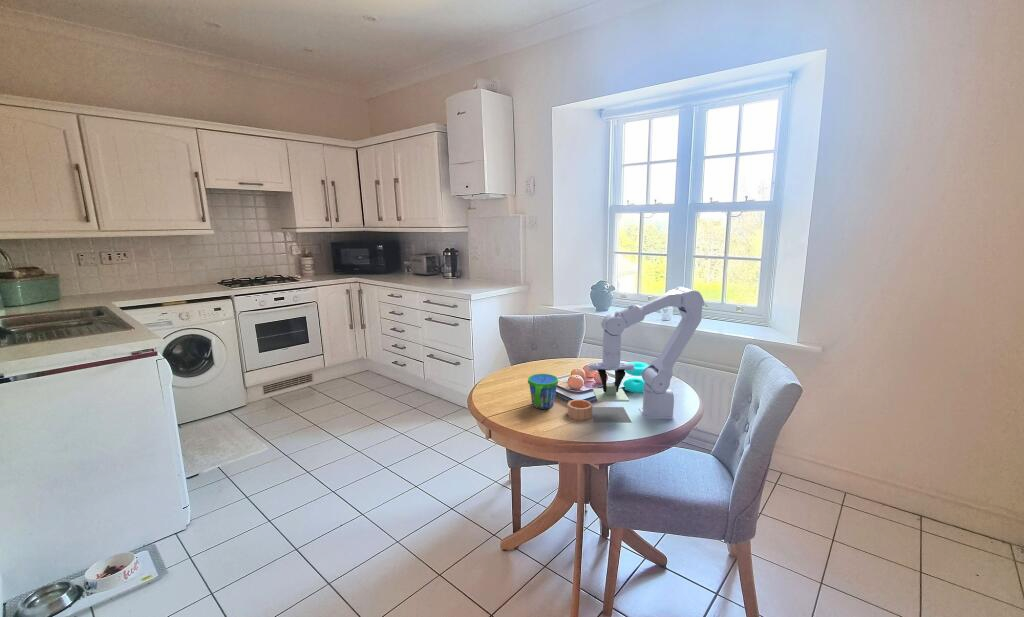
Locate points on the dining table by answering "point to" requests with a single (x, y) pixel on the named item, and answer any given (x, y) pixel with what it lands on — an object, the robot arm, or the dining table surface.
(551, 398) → the snack cup
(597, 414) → the mat
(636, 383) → the donuts
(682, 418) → the dining table surface
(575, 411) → the bowl
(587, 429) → the dining table surface
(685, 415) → the dining table surface
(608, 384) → the lid
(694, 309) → the robot arm
